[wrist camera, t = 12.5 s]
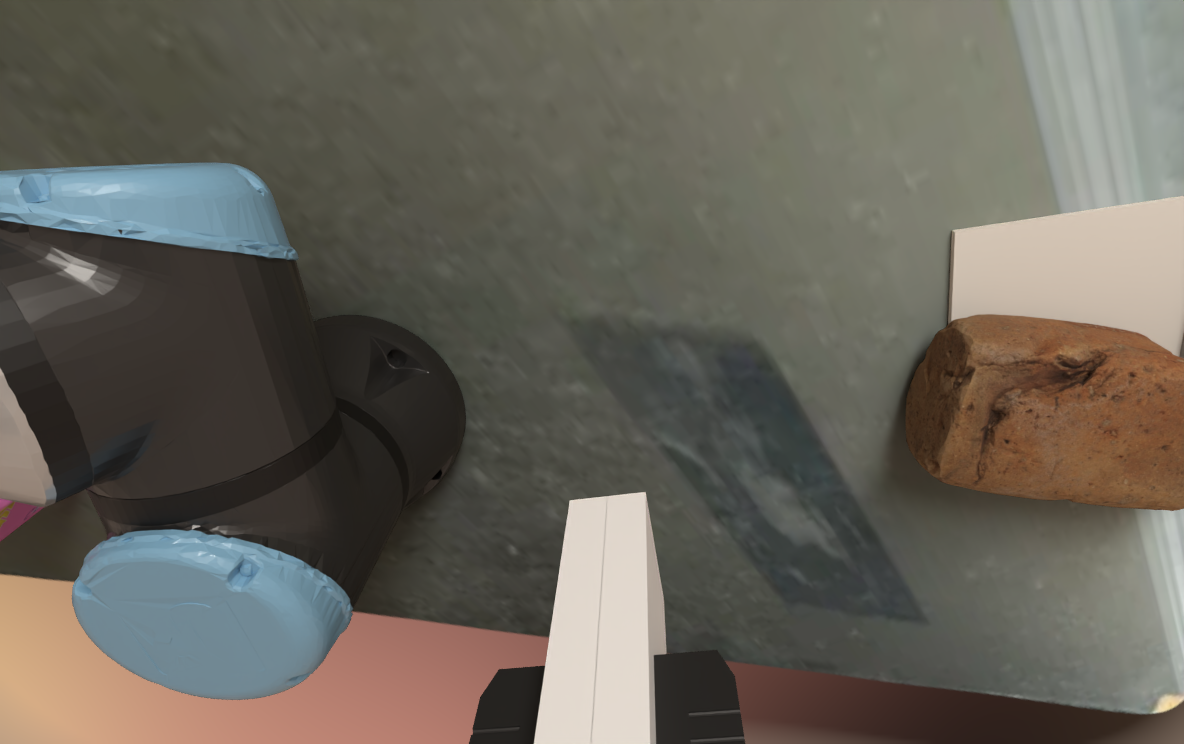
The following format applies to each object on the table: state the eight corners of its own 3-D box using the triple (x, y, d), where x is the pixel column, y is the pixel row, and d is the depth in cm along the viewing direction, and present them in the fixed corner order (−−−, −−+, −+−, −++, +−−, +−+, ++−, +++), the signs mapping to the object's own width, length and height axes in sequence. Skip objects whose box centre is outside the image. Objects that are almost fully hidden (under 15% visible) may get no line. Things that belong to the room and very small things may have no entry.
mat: (943, 443, 51) (949, 451, 50) (951, 230, 45) (958, 234, 44) (1180, 416, 49) (1191, 424, 48) (1225, 189, 43) (1239, 192, 42)
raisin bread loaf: (889, 438, 51) (1168, 472, 50) (926, 496, 44) (1250, 536, 43) (933, 296, 46) (1240, 332, 46) (982, 337, 39) (1344, 379, 39)
